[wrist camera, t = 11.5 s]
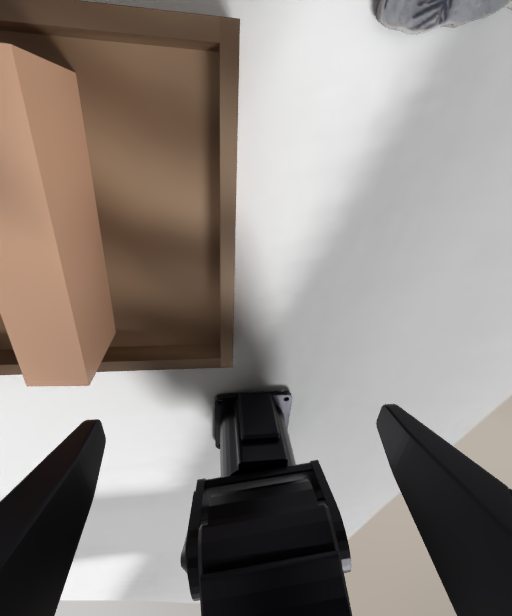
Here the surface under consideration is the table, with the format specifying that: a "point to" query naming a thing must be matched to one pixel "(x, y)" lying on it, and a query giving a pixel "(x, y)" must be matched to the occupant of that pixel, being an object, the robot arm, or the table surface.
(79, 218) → the light brown rectangular block
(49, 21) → the tray
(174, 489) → the table surface
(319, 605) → the robot arm
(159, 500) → the table surface
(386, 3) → the fossil rock
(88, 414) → the table surface
